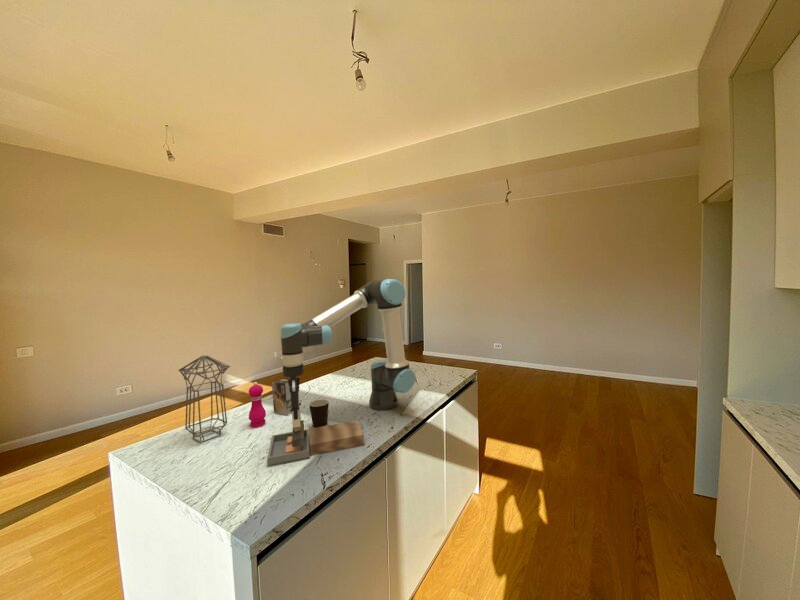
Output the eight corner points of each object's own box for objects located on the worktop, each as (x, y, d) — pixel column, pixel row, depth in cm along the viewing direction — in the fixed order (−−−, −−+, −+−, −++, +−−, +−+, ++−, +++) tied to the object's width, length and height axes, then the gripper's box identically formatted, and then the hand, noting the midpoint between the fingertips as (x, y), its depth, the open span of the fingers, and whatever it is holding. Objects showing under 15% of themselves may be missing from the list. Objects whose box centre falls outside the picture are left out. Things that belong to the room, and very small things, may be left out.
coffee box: (296, 410, 156) (294, 379, 155) (287, 415, 150) (285, 383, 149) (282, 408, 159) (280, 378, 159) (273, 413, 153) (271, 382, 153)
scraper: (304, 426, 126) (300, 391, 125) (304, 444, 110) (300, 405, 110) (293, 428, 125) (290, 393, 124) (292, 447, 109) (288, 407, 109)
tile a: (287, 436, 122) (287, 441, 122) (286, 442, 117) (287, 447, 117) (300, 434, 124) (301, 439, 124) (300, 440, 119) (300, 445, 119)
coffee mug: (324, 429, 133) (323, 406, 133) (306, 428, 135) (305, 406, 134) (335, 418, 144) (334, 397, 144) (318, 417, 146) (317, 396, 146)
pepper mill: (269, 422, 143) (267, 380, 142) (258, 429, 136) (255, 384, 135) (257, 420, 145) (255, 379, 145) (245, 427, 138) (242, 383, 138)
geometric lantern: (179, 439, 130) (175, 357, 130) (219, 426, 142) (216, 351, 142) (193, 449, 120) (189, 360, 120) (235, 434, 133) (231, 353, 133)
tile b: (286, 445, 115) (286, 450, 115) (285, 452, 110) (285, 457, 110) (300, 443, 117) (300, 448, 117) (300, 449, 112) (300, 454, 112)
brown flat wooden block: (357, 429, 131) (357, 420, 131) (364, 444, 118) (363, 434, 118) (309, 438, 125) (309, 428, 125) (310, 455, 112) (309, 444, 112)
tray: (308, 436, 127) (308, 429, 127) (309, 458, 110) (309, 450, 110) (272, 442, 123) (272, 435, 123) (267, 466, 106) (267, 458, 106)
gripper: (283, 361, 123) (287, 418, 123) (281, 370, 108) (285, 435, 109) (303, 359, 125) (306, 415, 126) (303, 368, 110) (307, 432, 111)
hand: (296, 424), depth 117 cm, fingers closed on scraper, 2 cm apart
